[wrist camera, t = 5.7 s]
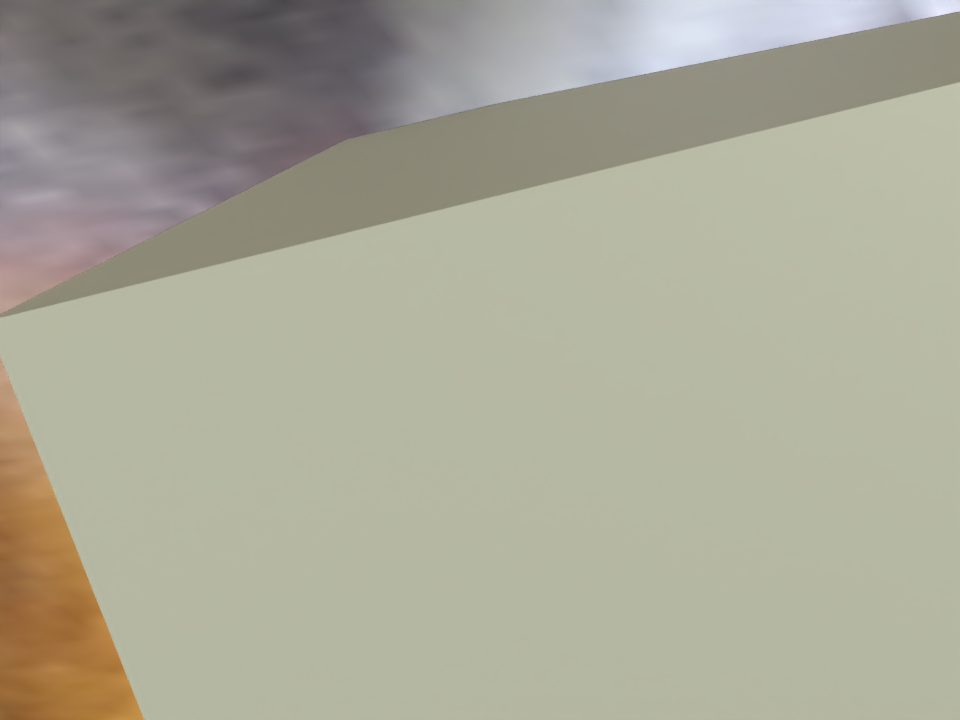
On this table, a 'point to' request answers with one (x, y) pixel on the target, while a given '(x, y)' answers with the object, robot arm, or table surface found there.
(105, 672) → the table surface
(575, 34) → the table surface
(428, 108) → the table surface
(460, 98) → the table surface
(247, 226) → the door
